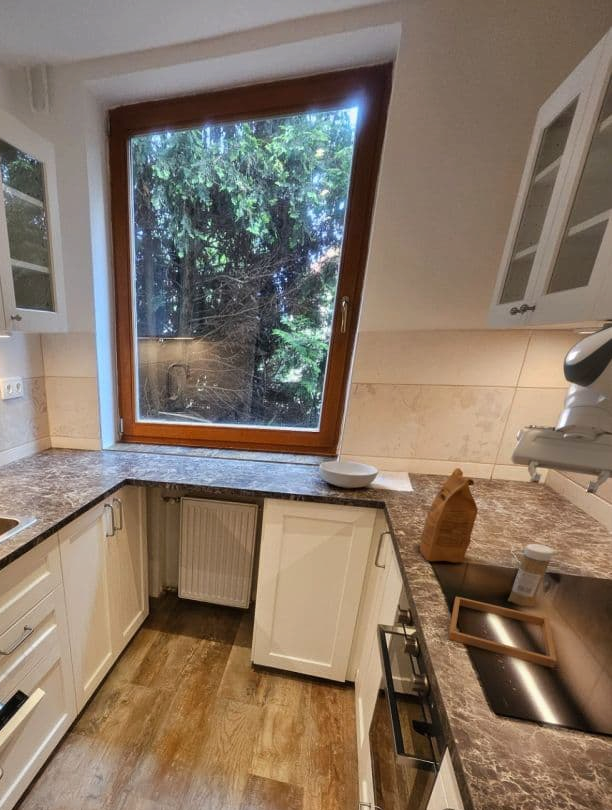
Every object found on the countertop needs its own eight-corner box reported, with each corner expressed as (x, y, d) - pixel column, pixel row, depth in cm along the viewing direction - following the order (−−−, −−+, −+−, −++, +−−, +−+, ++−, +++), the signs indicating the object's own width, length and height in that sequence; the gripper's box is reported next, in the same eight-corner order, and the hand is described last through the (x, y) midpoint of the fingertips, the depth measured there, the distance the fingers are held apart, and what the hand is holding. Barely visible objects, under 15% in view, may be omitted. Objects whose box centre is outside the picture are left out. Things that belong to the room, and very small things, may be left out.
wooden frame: (544, 629, 91) (549, 618, 90) (551, 673, 80) (556, 660, 78) (452, 606, 99) (455, 596, 98) (446, 643, 87) (450, 632, 86)
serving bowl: (368, 496, 168) (372, 477, 165) (310, 487, 178) (312, 469, 175) (379, 482, 183) (383, 465, 181) (325, 474, 194) (328, 458, 191)
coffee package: (456, 548, 126) (478, 468, 117) (466, 567, 116) (492, 481, 107) (415, 543, 129) (434, 464, 120) (421, 562, 119) (442, 477, 110)
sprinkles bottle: (537, 608, 99) (560, 549, 93) (524, 613, 97) (546, 554, 91) (514, 598, 102) (535, 541, 97) (501, 602, 101) (521, 545, 95)
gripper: (524, 415, 103) (504, 470, 101) (650, 428, 92) (632, 490, 89) (518, 432, 108) (500, 484, 106) (637, 446, 97) (620, 504, 95)
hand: (561, 487), depth 98 cm, fingers open, 8 cm apart
